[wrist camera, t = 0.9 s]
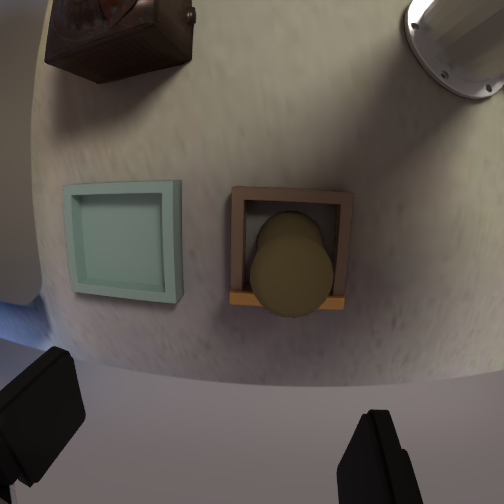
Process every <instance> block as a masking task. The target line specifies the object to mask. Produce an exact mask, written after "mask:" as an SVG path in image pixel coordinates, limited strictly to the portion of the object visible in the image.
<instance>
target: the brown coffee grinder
mask: <svg viewBox="0 0 504 504" xmlns="http://www.w3.org/2000/svg"><path fill="white" fill-rule="evenodd" d="M195 23H196V12H195V7H192V1H191V0H53V5H52V11H51V16H50V22H49V29H48V35H47V43H46V51H45V60H44V62H45V63H47V64H49V65H52V66H55V67H57V68H60V69H62V70H65V71H68V72H70V73H73V74H75V75H78V76H81V77H83V78H86V79H88V80H91V81H93V82H96V83H97V84H102V83H106V82H111V81H116V80H120V79H123V78H127V77H131V76H135V75H139V74H143V73H147V72H151V71H156V70H160V69H165V68H169V67H173V66H178V65H182V64H184V63H186V62H188V61H190V60H192V44H193V27H194V24H195Z"/></svg>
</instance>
